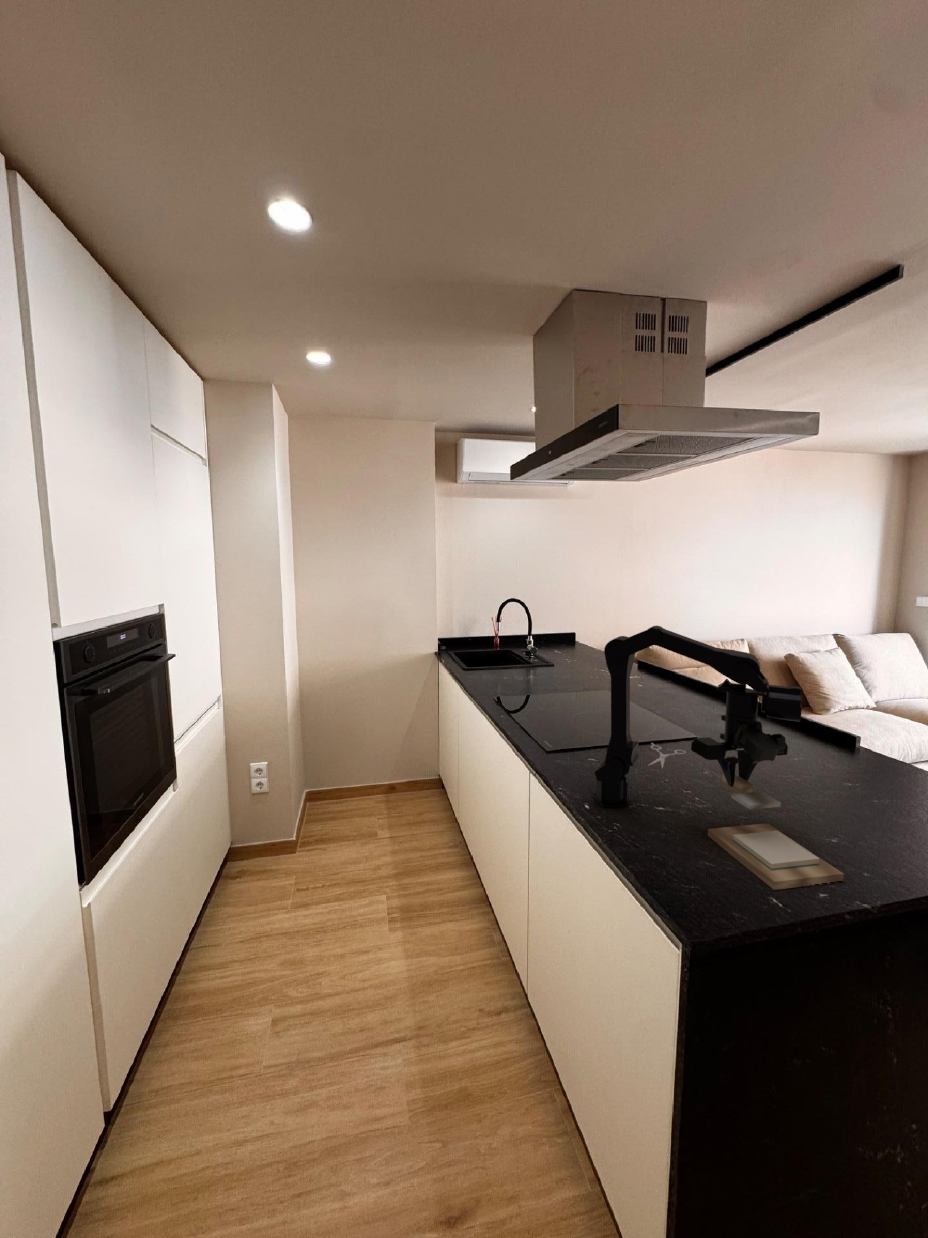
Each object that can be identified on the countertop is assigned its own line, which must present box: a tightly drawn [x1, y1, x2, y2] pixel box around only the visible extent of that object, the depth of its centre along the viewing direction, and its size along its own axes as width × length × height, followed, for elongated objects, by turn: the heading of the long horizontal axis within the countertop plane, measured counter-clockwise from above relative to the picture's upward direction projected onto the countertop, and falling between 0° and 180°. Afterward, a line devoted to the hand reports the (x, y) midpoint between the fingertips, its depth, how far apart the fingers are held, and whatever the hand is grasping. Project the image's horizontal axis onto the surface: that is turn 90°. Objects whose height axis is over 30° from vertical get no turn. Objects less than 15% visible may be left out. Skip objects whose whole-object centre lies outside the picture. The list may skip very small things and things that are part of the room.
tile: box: [733, 830, 820, 870], centre depth 97 cm, size 10×1×10 cm
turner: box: [721, 772, 782, 810], centre depth 104 cm, size 7×11×2 cm, turn 10°
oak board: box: [707, 822, 844, 891], centre depth 98 cm, size 14×18×2 cm
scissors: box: [647, 742, 687, 769], centre depth 149 cm, size 11×1×20 cm
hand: (736, 785), depth 107 cm, fingers closed on turner, 2 cm apart
